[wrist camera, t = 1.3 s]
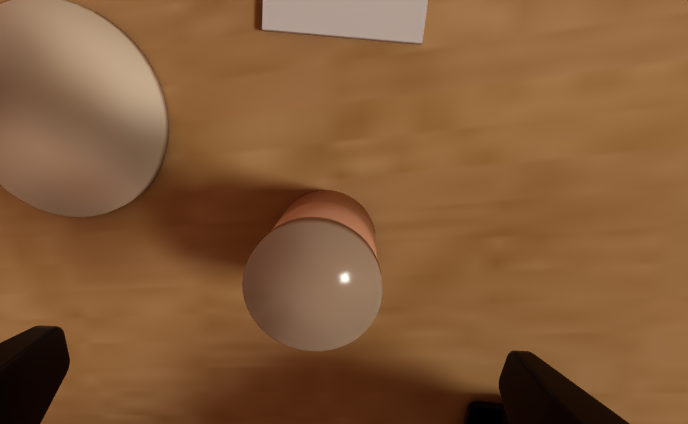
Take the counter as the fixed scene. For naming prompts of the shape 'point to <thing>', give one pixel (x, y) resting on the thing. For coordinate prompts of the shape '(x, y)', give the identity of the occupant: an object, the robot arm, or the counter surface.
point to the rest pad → (348, 18)
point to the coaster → (76, 110)
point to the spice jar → (316, 274)
